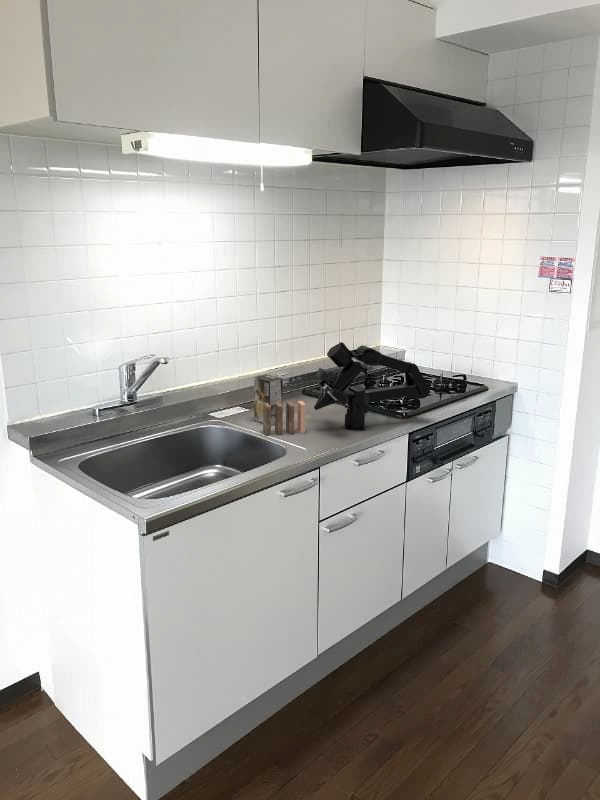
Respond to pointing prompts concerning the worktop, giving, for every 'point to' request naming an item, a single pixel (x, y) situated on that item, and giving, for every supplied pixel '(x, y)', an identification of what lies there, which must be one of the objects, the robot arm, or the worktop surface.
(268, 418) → the walnut tile
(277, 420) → the walnut tile
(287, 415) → the walnut tile
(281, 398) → the coffee box
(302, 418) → the tile
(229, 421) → the worktop surface
